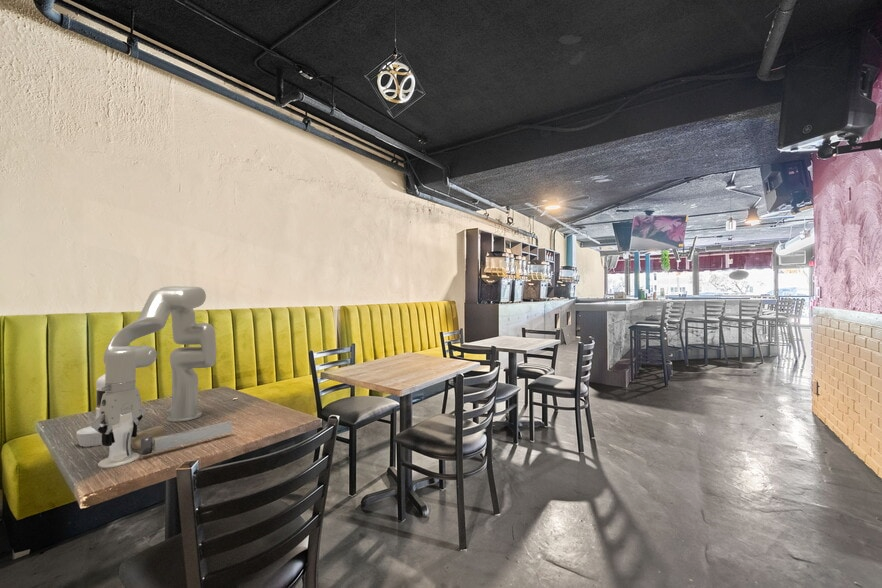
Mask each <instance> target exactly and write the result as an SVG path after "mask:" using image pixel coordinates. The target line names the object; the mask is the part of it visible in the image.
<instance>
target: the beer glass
mask: <svg viewBox="0 0 882 588" xmlns="http://www.w3.org/2000/svg"><path fill="white" fill-rule="evenodd" d="M107 427H108V425H106V429H107ZM133 427H134V419H133V416H132V411H131V412H129V413H126V414H122V415H120V422H119V423H118V424H116V425H112V429H111V431H110V433H112V445H111V446H108V448H109V450H108V451H109V452H108V456H107V458H108V461H109V462H116V461H121V460H125V459H127V458H129V457H131V456H132V453H133V451H132V447H131V446H132V445H131V443H132V433H133Z"/></svg>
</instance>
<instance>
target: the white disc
mask: <svg viewBox="0 0 882 588" xmlns="http://www.w3.org/2000/svg"><path fill="white" fill-rule="evenodd" d="M137 458H138V459H139V458H140V454H139V453H137V452H132V456H131V457H129V458H127V459H125V460H121V461H116V462H109V461H108V457H106V458H103V459H102V460H100V461H99V462H98V463H97V464H98V467H99V468H102V469H110V468H116V467H122V466H126V465H128V464H131V463H133V462H135V461H137V460H138V459H137ZM136 459H137V460H136ZM134 460H135V461H134ZM132 461H133V462H132ZM130 462H131V463H130ZM121 465H122V466H121Z"/></svg>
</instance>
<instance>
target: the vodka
mask: <svg viewBox="0 0 882 588" xmlns="http://www.w3.org/2000/svg"><path fill="white" fill-rule="evenodd" d="M95 386H96V388H95V390H96V400H95V401H96V403H95V404H96V405H95V406H96V407H95V420H96V419H97V418H98V417H99V413H100V405H101V400H102V396H103V394H104V393H105V391H102V390H101V388H102V387H105V373H104V374H102V375H100V376H99V377H98V378H97V379H96V381H95Z"/></svg>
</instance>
